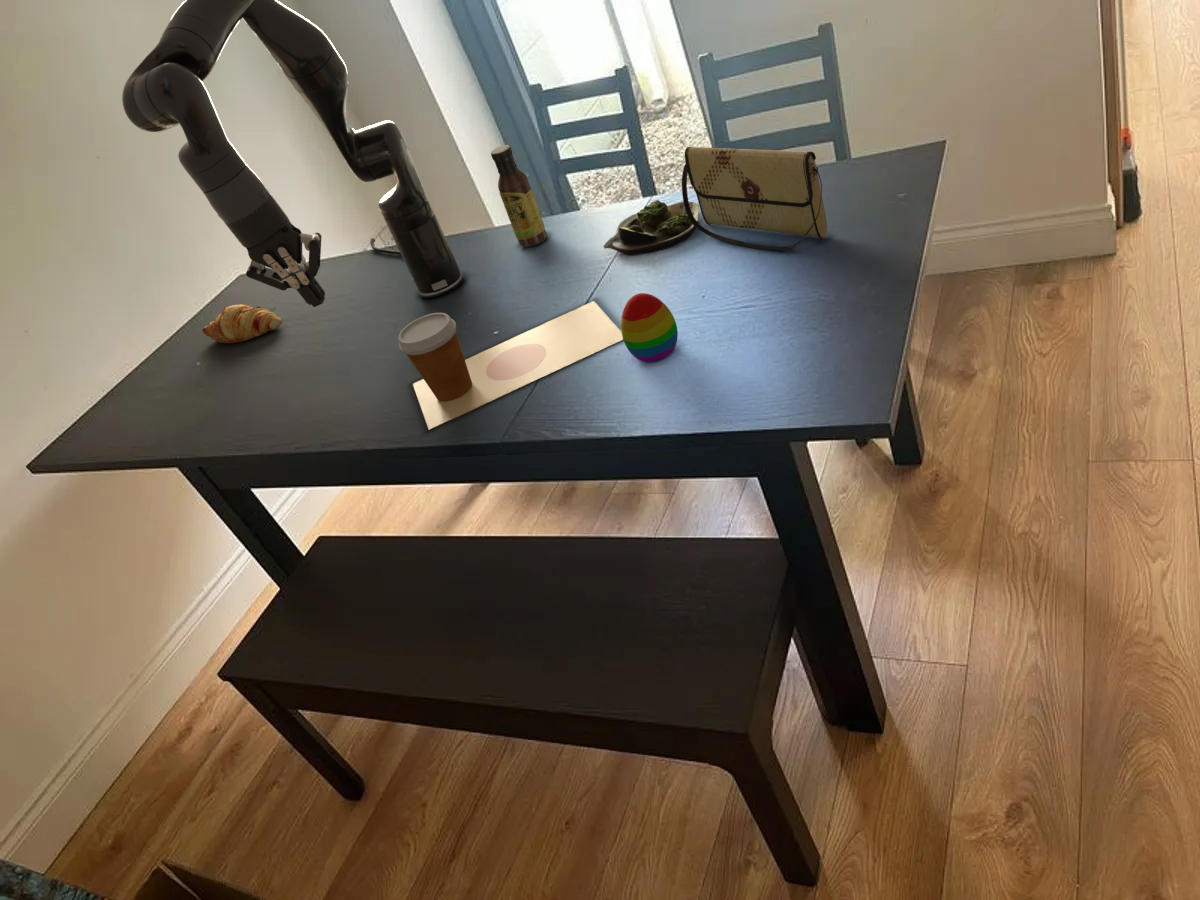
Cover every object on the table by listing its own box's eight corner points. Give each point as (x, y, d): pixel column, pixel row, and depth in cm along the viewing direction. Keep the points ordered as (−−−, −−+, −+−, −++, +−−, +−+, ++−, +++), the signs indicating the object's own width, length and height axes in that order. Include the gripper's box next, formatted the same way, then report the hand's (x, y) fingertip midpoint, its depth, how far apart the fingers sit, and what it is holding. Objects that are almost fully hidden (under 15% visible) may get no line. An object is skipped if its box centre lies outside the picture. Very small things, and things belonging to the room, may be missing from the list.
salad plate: (619, 217, 188) (612, 196, 186) (706, 197, 182) (700, 175, 180) (602, 263, 174) (595, 241, 171) (696, 243, 168) (690, 219, 165)
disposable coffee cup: (471, 403, 147) (440, 338, 141) (418, 411, 151) (386, 349, 144) (488, 369, 155) (460, 306, 148) (438, 377, 158) (407, 316, 151)
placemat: (412, 384, 159) (412, 383, 159) (593, 301, 162) (593, 300, 162) (429, 430, 145) (428, 429, 145) (626, 338, 148) (626, 337, 148)
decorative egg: (675, 331, 145) (658, 274, 140) (688, 355, 138) (670, 296, 133) (626, 349, 146) (606, 294, 140) (636, 374, 139) (616, 317, 133)
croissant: (299, 334, 202) (292, 296, 201) (267, 338, 193) (259, 299, 192) (223, 344, 211) (216, 309, 209) (189, 349, 201) (181, 311, 200)
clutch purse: (683, 238, 171) (660, 160, 163) (708, 220, 174) (687, 142, 166) (816, 257, 150) (797, 168, 141) (842, 235, 153) (825, 147, 144)
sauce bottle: (513, 248, 193) (476, 156, 182) (533, 233, 196) (498, 142, 185) (535, 249, 189) (499, 155, 178) (555, 234, 192) (520, 141, 181)
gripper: (290, 174, 132) (361, 273, 143) (215, 212, 136) (289, 306, 146) (278, 198, 127) (352, 299, 137) (199, 236, 130) (277, 332, 140)
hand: (319, 302), depth 141 cm, fingers closed
